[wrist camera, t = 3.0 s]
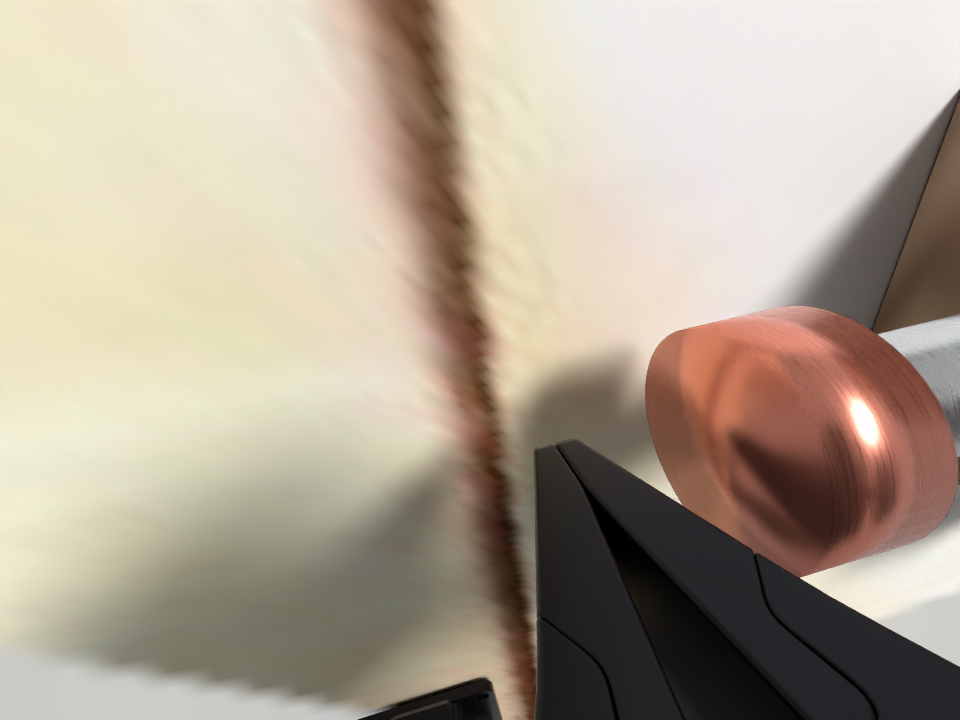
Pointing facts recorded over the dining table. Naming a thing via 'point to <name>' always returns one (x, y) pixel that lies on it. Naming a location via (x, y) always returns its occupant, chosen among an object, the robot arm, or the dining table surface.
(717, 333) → the pin
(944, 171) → the hitch block
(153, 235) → the dining table surface
